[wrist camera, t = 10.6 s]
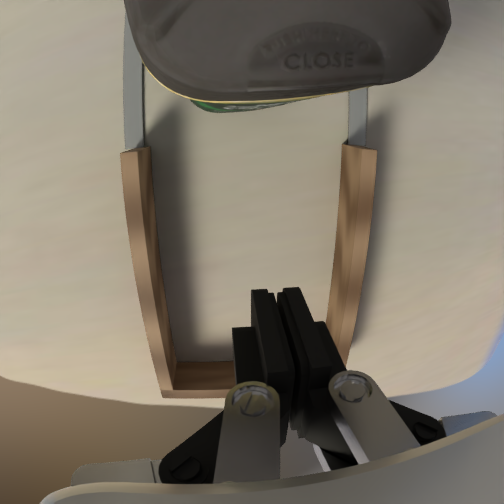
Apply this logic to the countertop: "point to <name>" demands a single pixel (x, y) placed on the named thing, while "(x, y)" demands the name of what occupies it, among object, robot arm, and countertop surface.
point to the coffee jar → (283, 47)
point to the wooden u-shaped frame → (152, 287)
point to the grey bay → (135, 100)
